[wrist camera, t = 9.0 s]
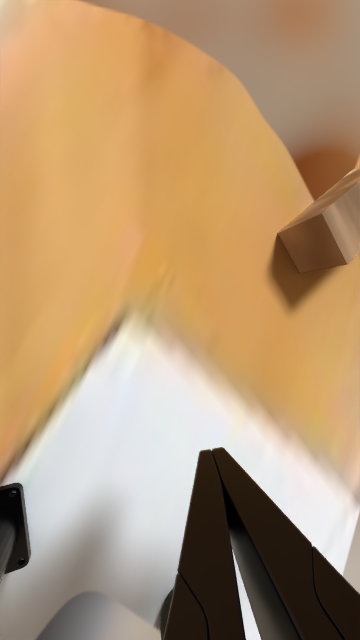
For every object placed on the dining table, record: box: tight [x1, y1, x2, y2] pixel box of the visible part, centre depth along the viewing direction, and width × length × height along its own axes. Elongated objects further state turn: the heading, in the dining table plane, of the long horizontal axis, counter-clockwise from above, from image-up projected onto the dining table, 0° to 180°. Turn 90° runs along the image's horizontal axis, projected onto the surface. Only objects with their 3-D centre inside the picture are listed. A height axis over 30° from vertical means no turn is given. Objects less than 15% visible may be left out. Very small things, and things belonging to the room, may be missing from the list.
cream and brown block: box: [277, 166, 360, 273], centre depth 22 cm, size 5×5×13 cm
